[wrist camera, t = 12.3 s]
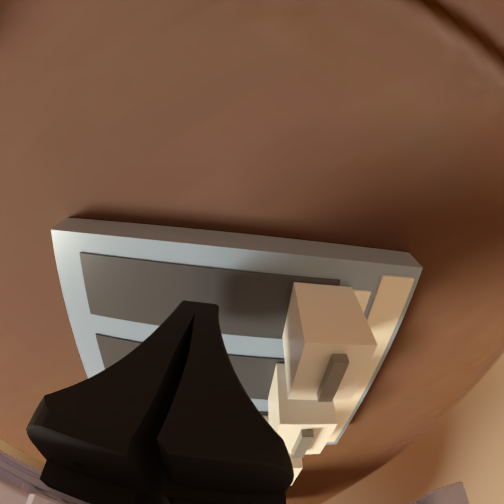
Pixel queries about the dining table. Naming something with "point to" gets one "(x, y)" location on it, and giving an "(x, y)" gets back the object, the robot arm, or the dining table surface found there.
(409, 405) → the dining table surface
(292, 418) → the tab middle
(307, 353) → the tab
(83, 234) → the switch bank
